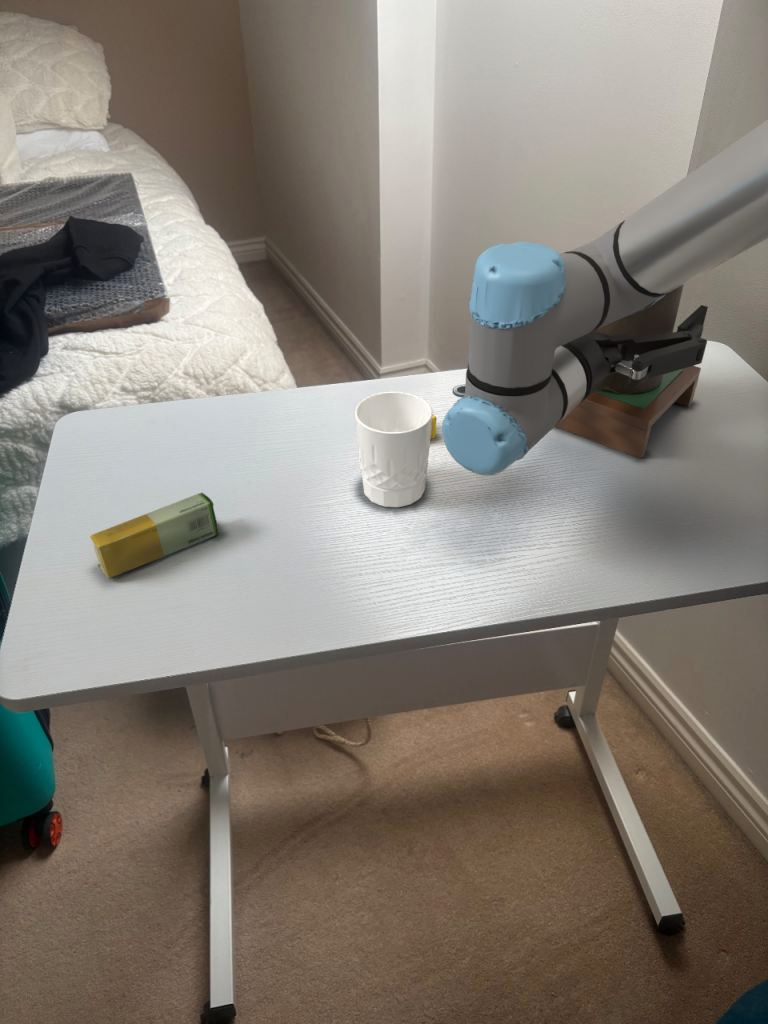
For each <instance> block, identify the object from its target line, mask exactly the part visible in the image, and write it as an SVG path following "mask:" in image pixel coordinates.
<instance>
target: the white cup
mask: <svg viewBox="0 0 768 1024" xmlns="http://www.w3.org/2000/svg"><path fill="white" fill-rule="evenodd" d="M432 414H433V409H432V406H431V405H430V403H429V402H428V401H427V400H426V399H424V398H423V397H421V396H418V395H416V394H413V393H410V392H405V391H383V392H377V393H374V394H372V395H369V396H367V397H365V398H363V399H362V400H360V402H359V403H358V404H357V405H356V407H355V410H354V418H355V429H356V430H355V431H356V440H357V441H356V442H357V450H358V451H357V452H358V461H359V467H360V468H359V469H360V472H361V477H362V478H361V479H362V487H363V494H364V495H365V496H366V498H367V499H368V500H369V501H371V502H372V503H374V504H376V505H379V506H382V507H384V508H402V507H405V506H410V505H412V504H414V503H416V502H417V501H418V500H420V499H421V498H422V497H423V494H424V492H425V490H426V479H427V472H428V467H429V457H430V448H431V439H430V436H431V423H432Z"/></svg>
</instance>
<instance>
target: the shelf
mask: <svg viewBox="0 0 768 1024" xmlns="http://www.w3.org/2000/svg"><path fill="white" fill-rule="evenodd" d="M701 370H702V368H701V367H699V366H697V365H694V366H691V367H687V368H684V369H680V370H677V371H673V372H670V373H667V374H663V378H662V381H661V383H660V384H659V386H658V387H656V388H655V389H652V390H650V391H647V392H643V393H636V394H619V393H614V392H610V391H607V390H604V389H600V388H597V389H596V390H595V391H594V392H593V393H592V394H590V395H589V396H588V397H587V398H586V399H585V400H584V401H583V402H581V403H580V404H578V405H577V406H576V407H575V408H574V409H573V410H572V411H571V412H570V413H569V414H568V415H566V416H565V417H564V418H563V419H562V420H561V421H560V422H559V423H558V424H556V426H555V427H556V428H559V429H561V430H564V431H566V432H568V433H571V434H573V435H577V436H578V437H579V436H580V437H582V438H584V439H587V440H590V441H592V442H595V443H598V444H601V445H603V446H606V447H608V448H611V449H614V450H617V451H619V452H621V453H625V454H627V455H630V456H632V457H635V458H637V459H642V458H643V457H644V456H645V455H646V451H647V446H648V442H649V439H650V434H651V430H652V426H653V425H654V424H655V423H656V422H657V421H658V420H659V419H660V418H661V417H662V416H663V415H664V413H666V412H667V410H668V409H670V407H671V406H672V405H673V404H674V403H676V404H679V405H681V406H685V407H688V408H689V407H690V406H691V405H692V403H693V401H694V398H695V393H696V389H697V385H698V381H699V378H700V373H701ZM555 427H554V428H555Z"/></svg>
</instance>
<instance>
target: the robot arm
mask: <svg viewBox="0 0 768 1024" xmlns="http://www.w3.org/2000/svg"><path fill="white" fill-rule="evenodd" d="M767 239H768V119H766V120H765V121H764V122H762V123H761V124H759V125H758V126H757V127H755V128H753V129H752V130H751V131H749V132H748V133H747V134H745V135H744V136H742V137H741V138H740V139H738V140H737V141H735V142H733V143H731V145H729V146H728V147H725V149H723V150H722V151H720V152H719V153H717V154H716V155H715V156H713V157H712V158H711V159H709V160H707V161H706V162H705V163H703V164H702V165H700V166H699V167H698V168H696V169H695V170H693V171H692V172H691V173H689V174H688V175H686V176H685V177H683V178H682V179H681V180H679V181H678V182H676V183H675V184H674V185H672V186H670V187H669V188H668V189H666V190H665V191H663V192H662V193H660V194H658V196H656V197H655V198H653V199H652V200H651V201H649V202H648V203H646V204H645V205H643V206H642V207H640V208H639V209H638V210H636V211H634V212H633V213H631V214H630V215H629V216H627V217H626V218H625V219H624V220H623V221H621V222H619V223H618V224H616V225H614V226H613V227H612V228H610V229H609V230H608V231H606V232H604V233H603V234H602V235H601V236H599V237H597V238H596V239H594V240H592V241H590V242H588V243H586V244H583V245H581V246H578V247H576V248H573V249H571V250H569V251H565V252H563V253H559V252H558V251H557V250H555V249H554V248H552V247H550V246H548V245H545V244H541V243H536V242H530V241H516V242H513V243H508V242H507V243H505V242H502V243H498V244H495V245H492V246H490V247H489V248H487V249H485V250H484V251H483V252H482V253H481V254H480V255H479V256H478V258H477V259H476V262H475V265H474V272H473V273H474V274H473V279H472V284H471V294H470V296H469V299H468V301H469V303H468V306H469V307H468V308H469V330H468V331H469V332H468V333H469V334H468V355H467V368H466V371H465V384H464V385H465V387H464V390H465V391H464V394H463V397H461V398H459V399H457V401H455V403H453V405H452V406H451V408H450V409H448V411H447V412H446V414H445V415H444V417H443V420H442V424H441V435H442V440H443V443H444V445H445V448H446V450H447V452H448V453H449V455H450V456H451V457H452V459H453V460H454V461H455V462H456V464H458V465H459V466H460V467H462V468H463V469H465V470H467V471H469V472H472V473H473V474H476V475H480V476H494V475H498V474H500V473H502V472H504V471H505V470H506V469H507V468H509V467H510V466H511V465H512V464H514V463H516V462H517V461H518V462H519V461H520V460H522V459H523V458H524V457H525V456H526V455H527V453H528V452H529V451H530V450H532V448H533V447H535V446H536V445H537V444H538V443H539V442H540V441H541V440H542V439H543V438H544V437H545V436H547V434H549V433H550V431H552V430H553V429H554V428H555V426H556V424H558V423H559V422H560V421H561V420H562V419H563V418H564V417H565V416H566V415H568V414H569V413H570V412H571V411H572V410H573V409H574V408H575V407H576V406H577V405H578V404H580V403H581V402H583V401H584V400H585V399H586V398H587V397H588V396H589V395H590V394H592V393H593V392H594V391H595V390H596V389H597V388H598V387H599V386H600V385H601V383H602V382H603V381H604V379H605V378H606V377H607V376H609V375H613V374H616V373H617V372H619V373H622V374H624V375H627V376H629V382H628V383H629V384H630V385H632V386H639V385H640V384H642V383H643V382H645V381H646V380H647V379H650V378H653V377H656V376H660V375H663V374H667V373H670V372H673V371H677V370H680V369H684V368H687V367H691V366H697V365H700V364H702V363H703V360H704V355H705V352H706V347H707V343H708V340H707V339H705V338H703V337H702V335H703V332H704V324H705V321H706V317H707V314H708V313H707V312H708V308H709V307H708V306H706V305H702V304H700V306H699V307H697V308H696V309H695V310H694V311H693V312H692V313H691V314H690V315H689V316H688V317H687V318H686V319H684V320H683V321H682V322H681V323H680V324H679V325H678V326H677V329H676V331H673V332H672V333H664V334H655V335H647V336H638V337H630V335H629V334H619V335H611V336H610V335H607V334H601V333H597V332H595V330H596V329H598V328H601V327H603V326H605V325H607V324H610V323H612V322H614V321H617V320H619V319H621V318H624V317H626V316H628V315H632V314H635V313H638V312H640V311H642V310H644V309H646V308H648V307H650V306H651V305H653V304H654V303H656V302H657V301H658V300H660V299H661V298H663V297H664V296H665V295H666V294H667V293H669V292H670V291H672V290H674V289H676V288H678V287H680V286H681V285H683V284H684V285H686V284H687V283H689V282H690V281H693V280H694V279H696V278H698V277H700V276H701V275H703V274H705V273H707V272H709V271H711V270H712V269H714V268H716V267H718V266H720V265H722V264H723V263H725V262H728V261H729V260H731V259H732V258H734V257H736V256H738V255H740V254H741V253H744V252H746V251H747V250H749V249H751V248H753V247H754V246H756V245H758V244H761V243H762V242H764V241H766V240H767ZM620 344H621V349H620V350H619V348H618V345H620Z"/></svg>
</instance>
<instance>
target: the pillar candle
mask: <svg viewBox="0 0 768 1024" xmlns="http://www.w3.org/2000/svg"><path fill="white" fill-rule="evenodd" d="M684 285H685V284H683V285H681V286H680V287H678V288H676V289H674V290H672V291H670V292H669V293H667V294H666V295H665V296H664V297H663V298H661V299H660V300H658V301H657V302H656V303H654V304H653V305H651V306H650V307H648V308H646V309H644V310H642V311H640V312H638V313H635V314H632V315H628V316H626V317H624V318H621V319H619V320H617V321H614V322H612V323H610V324H607V325H605V326H603V327H601V328H598V329H596V330H595V332H597V333H601V334H607V335H610V336H611V335H619V334H629V335H630V337H638V336H647V335H655V334H664V333H672V332H674V329H675V326H676V320H677V317H678V312H679V307H680V304H681V298H682V295H683V291H684ZM618 348H619V350H620V349H621V344H620V345H618ZM662 378H663V375H660V376H656V377H653V378H650V379H647V380H646V381H645V382H643V383H642V384H640V385H639V386H632V385H630V384H629V383H628V382H629V376H627V375H624V374H622V373H619V372H617V373H616V374H613V375H609V376H607V377H606V378H605V379H604V381H603V382H602V383H601V385H600V386H599V387H598V388H600V389H604V390H607V391H610V392H614V393H619V394H636V393H643V392H647V391H650V390H652V389H655V388H656V387H658V386H659V384H660V383H661V381H662Z"/></svg>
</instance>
